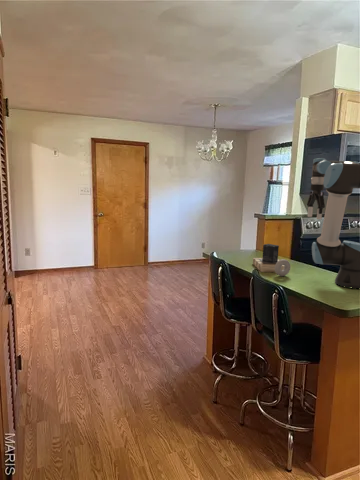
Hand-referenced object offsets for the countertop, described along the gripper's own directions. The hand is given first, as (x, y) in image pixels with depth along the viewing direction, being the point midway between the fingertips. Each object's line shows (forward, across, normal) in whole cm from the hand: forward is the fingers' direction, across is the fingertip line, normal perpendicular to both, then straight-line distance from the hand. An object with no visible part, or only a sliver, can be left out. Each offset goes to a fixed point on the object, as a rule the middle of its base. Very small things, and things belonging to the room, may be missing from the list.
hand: (314, 218), depth 206 cm
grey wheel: (+32, +23, -26) cm, 47 cm away
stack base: (+32, +5, -28) cm, 43 cm away
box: (+28, +5, -28) cm, 40 cm away
